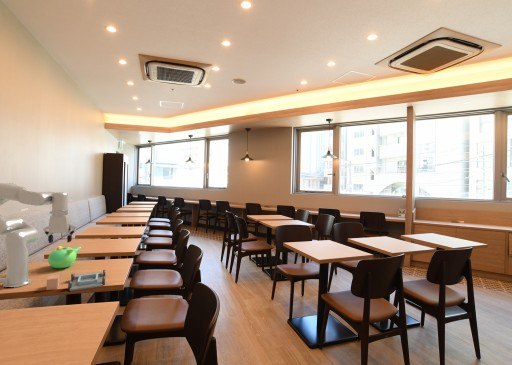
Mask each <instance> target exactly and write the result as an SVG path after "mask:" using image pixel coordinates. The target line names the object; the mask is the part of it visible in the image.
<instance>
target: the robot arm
mask: <svg viewBox="0 0 512 365" xmlns="http://www.w3.org/2000/svg"><path fill="white" fill-rule="evenodd" d="M68 198H69V197H68V193H67V192H66V191H64V192H63V191H62V192H60V191H58V192H57V191H56V192H54V191H41V192H37V191H30V190H27V189H26V188H25V187H24V186H20V185H19V186H18V185H17V184H16V183H11V182H9V183H8V182H6V183H5V182H3V183H1V182H0V206H2V205H4V204H6V203H8V202H9V201H15V202H18V203H20V204H25V205H27V206H28V205H29V206H34V207H35V206H36V207H41V206H47V205H48V206H49V205H51V210H50V211H49V214H51V215H50V217H49V221H48V226H46V227H44V228H43V232H44V234H45V235H46V236H47V237H48V241H47V242H48V243H49V244H51V243H53V242H54V234H67V236H66V239H67V240H66V243H70V242H72V240H73V234H74V233H75V232H76V231H77V227H76V226H74V225H73V224H71V217H70V215H69V214H68V213H69V207H68V206H69V205H68V204H69V199H68ZM71 229H72V230H71ZM4 235H6V236H5V237H4V243H5V248H6V277H4V278H0V284H2V283H3V284H2V287H3V288H4V287H14V288H19V287H23V286H26V285H29V284H30V283H31V282H32V279H31V277H29V249H28V247H27V244H31V243H33V242H36V241H37V240H38V238H39V236H40V234H39V231H38V229H37V228H35V227H34V226H33V225H31V224H30V223H29V222H27V221H26V220H24V219H23V218H21V217H17V216H11V217H5V216H3V215H2V214H0V236H4Z"/></svg>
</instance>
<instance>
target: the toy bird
mask: <svg viewBox="0 0 512 365" xmlns="http://www.w3.org/2000/svg"><path fill="white" fill-rule="evenodd" d="M57 247H58V248H55V249H53V250H52V251H51V252H50V253H49V255H48V258H47V262H48V264H49V266H50V267H52V268H55V269H65V268H67V267H70V266H71V265H73V264H74V262H75V261H76V260H77V252H79V250H81V248H82V246H78V247H75V248H72V247H69V246H61V245H59V246H57Z"/></svg>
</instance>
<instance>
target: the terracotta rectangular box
mask: <svg viewBox="0 0 512 365" xmlns="http://www.w3.org/2000/svg"><path fill="white" fill-rule="evenodd" d="M60 275H61V274H53V275H51V274H50V275H48V277H47V278H46V291H51V290H52V291H53V290H58V288H59V286H60V281H61V280H60Z"/></svg>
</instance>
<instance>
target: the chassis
mask: <svg viewBox="0 0 512 365" xmlns="http://www.w3.org/2000/svg"><path fill="white" fill-rule="evenodd" d="M105 284H106V269H102V271H96V272H87V273H79V274H76V273H71V276H70V280H68V282H67V285H68V286H67V288H68V290H69V291H70V292H73V291H82V290H88V289H94V288H101V287H103V286H104V285H105Z"/></svg>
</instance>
